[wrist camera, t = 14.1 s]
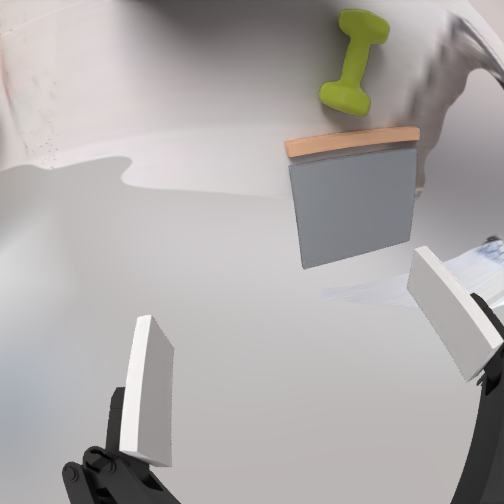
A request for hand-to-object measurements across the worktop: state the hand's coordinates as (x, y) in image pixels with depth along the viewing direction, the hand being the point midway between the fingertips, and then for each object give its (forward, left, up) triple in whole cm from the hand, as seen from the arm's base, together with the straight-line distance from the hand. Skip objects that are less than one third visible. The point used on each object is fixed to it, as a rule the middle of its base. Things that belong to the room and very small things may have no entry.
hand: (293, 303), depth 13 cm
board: (+15, +19, -32) cm, 40 cm away
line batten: (+2, +19, -32) cm, 37 cm away
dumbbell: (-10, +19, -32) cm, 39 cm away
